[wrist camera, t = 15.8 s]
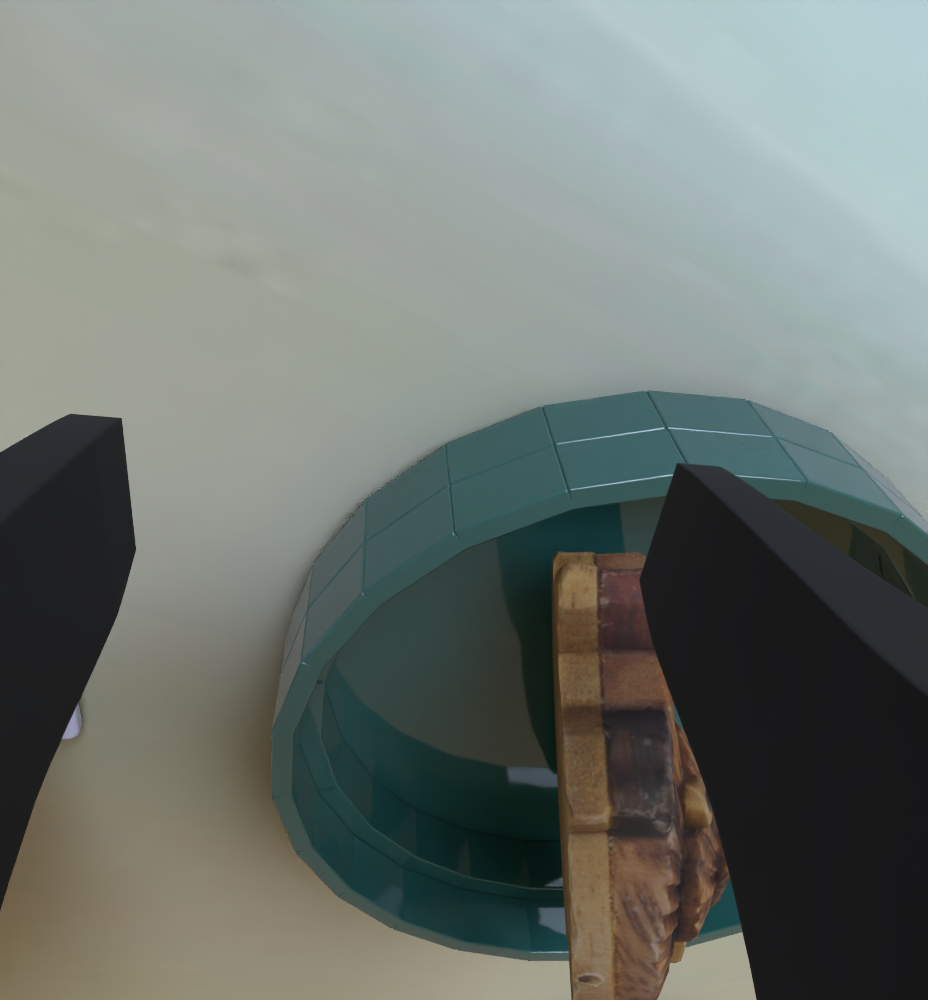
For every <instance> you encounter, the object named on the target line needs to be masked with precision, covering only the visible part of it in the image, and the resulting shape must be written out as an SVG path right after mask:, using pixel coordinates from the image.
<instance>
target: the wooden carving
mask: <svg viewBox="0 0 928 1000" xmlns="http://www.w3.org/2000/svg"><path fill="white" fill-rule="evenodd" d="M645 560H646V556H645V555H642V554H640V553H638V552H629V553H612V554H595V553H593V552H569V553H568V552H561V551H558V552H554V555H553V558H552V576H551V613H552V660H553V692H554V716H555V739H556V762H557V782H558V805H559V823H560V841H561V860H562V877H563V893H564V909H565V924H566V937H567V940H568V949H569V965H570V982H571V996H572V1000H657V998H658V996H659V994H660V992H661V990H662V987H663V984H664V982H665V979H666V977H667V974H668V972H669V965H670V962H671V963H676V962H679V961H681V959H682V956H683V953H684V949H685V946H686V943H687V942H691V941H694V939H696V938H697V936H698V934H699V932H700V930H701V928H702V926H703V924H704V920H705V917H706V915H707V913H708V911H709V908H711V907H713V906H714V905H715V904H716V903H717V902H718V901H719V900H720V898H721V896H722V894H723V892H724V890H725V888H726V886H727V884H728V881H729V879H730V875H729V871H728V867H727V863H726V859H725V855H724V852H723V848H722V844H721V840H720V836H719V832H718V828H717V824H716V820H715V816H714V813H713V810H712V807H711V804H710V801H709V798H708V794H707V791H706V788H705V785H704V782H703V779H702V777H701V774H700V771H699V769H698V766H697V763H696V761H695V758H694V755H693V753H692V750H691V747H690V745H689V742H688V739H687V737H686V734H685V733H684V731H683V729H682V728H681V727H680V726H679V725H678V724H677V723H676V722H675V720H674V711H673V699H672V697H671V694H670V691H669V689H668V686H667V683H666V680H665V678H664V675H663V672H662V669H661V667H660V664H659V661H658V658H657V655H656V653H655V650H654V647H653V644H652V640H651V636H650V631H649V627H648V623H647V618H646V614H645V608H644V603H643V598H642V593H641V587H640V582H639V579H640V576H641V573H642V570H643V567H644V563H645Z"/></svg>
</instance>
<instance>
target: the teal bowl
mask: <svg viewBox="0 0 928 1000" xmlns="http://www.w3.org/2000/svg"><path fill="white" fill-rule="evenodd" d="M677 463H684V464H697V465H709V466H720V467H722V468H724V469H726V470H727V471H729V472H731V473H732V474H734V475H736V476H737V477H739V478H740V479H742V480H743V481H745V482H746V483H748V484H749V485H751V486H752V487H754V488H755V489H756V490H758V491H759V492H761V493H762V494H763V495H765V496H766V497H768V498H769V499H770V500H772V501H773V502H775V503H776V504H777V505H779V506H780V507H781V508H783V509H784V510H785V511H787V512H788V513H790V514H791V515H792V516H794V517H795V518H796V519H798V520H799V521H800V522H802V523H803V524H805V525H806V526H807V527H809V528H810V529H811V530H813V531H814V532H816V533H817V534H818V535H820V536H821V537H822V538H824V539H825V540H827V541H828V542H829V543H831V544H832V545H834V546H835V547H836V548H838V549H839V550H841V551H842V552H843V553H845V554H846V555H848V556H849V557H851V558H852V559H854V560H855V561H856V562H858V563H859V564H861V565H862V566H864V567H865V568H867V569H868V570H869V571H871V572H873V573H874V574H876V575H877V576H879V577H880V578H882V579H883V580H885V581H886V582H888V583H889V584H891V585H892V586H894V587H896V588H897V589H899V590H900V591H902V592H903V593H905V594H906V595H908V596H909V597H911V598H912V599H914V600H916V601H917V602H919V603H920V604H922V605H924V606H925V607H927V608H928V522H927V521H926V520H925V519H924V518H923V516H922V515H921V514H920V513H919V512H918V511H917V510H916V509H915V508H914V507H913V505H912V504H911V503H910V502H909V501H908V500H907V499H906V498H905V497H904V496H903V494H902V493H901V492H900V491H899V490H898V489H897V488H896V487H895V486H894V485H893V483H892V482H891V481H890V480H889V479H888V478H887V477H885V476H884V475H883V474H882V473H881V472H879V471H878V470H877V469H876V468H874V467H873V466H872V465H871V464H870V463H868V462H867V461H866V460H865V459H863V458H862V457H861V456H860V455H859V454H857V453H856V452H855V451H854V450H852V449H851V448H850V447H849V446H848V445H846V444H845V443H844V442H843V441H841V440H840V439H839V438H838V437H837V436H835V435H834V434H833V433H831V432H829V431H828V430H825V429H823V428H820V427H817V426H815V425H812V424H810V423H807V422H804V421H802V420H799V419H796V418H794V417H791V416H788V415H786V414H783V413H781V412H778V411H775V410H773V409H770V408H767V407H765V406H762V405H759V404H757V403H754V402H752V401H749V400H745V399H735V398H725V397H714V396H703V395H692V394H681V393H670V392H660V391H647V392H646V391H640V392H633V393H626V394H619V395H613V396H606V397H599V398H592V399H586V400H579V401H572V402H565V403H559V404H552V405H545V406H543V408H542V407H537V408H535V409H532V410H530V411H527V412H525V413H522V414H520V415H517V416H515V417H512V418H510V419H507V420H504V421H502V422H499V423H497V424H494V425H492V426H489V427H487V428H484V429H482V430H479V431H476V432H474V433H471V434H469V435H466V436H464V437H461V438H459V439H456V440H454V441H451V442H449V443H447V444H446V445H443V446H442V447H440V448H439V449H437V450H436V451H434V452H433V453H432V454H430V455H429V456H427V457H426V458H424V459H423V460H422V461H420V462H419V463H417V464H416V465H415V466H413V467H412V468H410V469H409V470H407V471H406V472H405V473H403V474H402V475H400V476H399V477H397V478H396V479H395V480H393V481H392V482H390V483H389V484H387V485H386V486H385V487H383V488H382V489H380V490H379V491H378V492H376V493H375V494H373V495H372V496H370V497H369V498H368V499H367V500H365V502H364V503H363V504H362V505H361V506H360V508H359V509H358V510H357V511H356V512H355V514H354V515H353V516H352V517H351V518H350V520H349V521H348V522H347V523H346V525H345V526H344V527H343V528H342V529H341V531H340V532H339V533H338V534H337V535H336V537H335V538H334V539H333V540H332V541H331V543H330V544H329V545H328V546H327V548H326V549H325V550H324V551H323V552H322V554H321V555H320V556H319V557H318V558H317V560H316V561H315V562H314V565H313V566H312V568H311V571H310V573H309V576H308V578H307V581H306V584H305V586H304V589H303V591H302V594H301V596H300V599H299V601H298V604H297V606H296V609H295V611H294V614H293V616H292V619H291V621H290V624H289V626H288V629H287V634H286V641H285V647H284V653H283V660H282V666H281V673H280V680H279V686H278V693H277V699H276V705H275V712H274V718H273V725H272V731H271V795H272V799H273V802H274V804H275V806H276V809H277V811H278V813H279V816H280V818H281V820H282V823H283V825H284V827H285V830H286V832H287V834H288V837H289V839H290V842H291V844H292V846H293V849H294V851H296V854H297V855H298V856H299V857H300V858H301V859H302V860H303V861H304V862H305V863H306V864H307V865H308V866H309V867H310V868H311V869H312V871H313V872H314V873H315V874H316V875H317V876H318V877H319V878H320V879H321V880H322V881H323V882H324V883H325V884H326V885H327V886H328V887H329V888H330V890H331V891H332V892H333V893H334V894H335V895H337V896H338V897H339V898H341V899H342V900H344V901H346V902H347V903H349V904H351V905H352V906H354V907H356V908H358V909H359V910H361V911H363V912H364V913H366V914H368V915H369V916H371V917H373V918H374V919H376V920H378V921H380V922H381V923H383V924H385V925H386V926H388V927H390V928H393V929H394V930H397V931H400V932H403V933H406V934H409V935H412V936H415V937H418V938H421V939H424V940H427V941H430V942H433V943H436V944H439V945H442V946H445V947H448V948H451V949H454V950H456V949H457V950H459V951H466V952H472V953H479V954H486V955H493V956H500V957H506V958H513V959H520V960H528V961H569V949H568V940H567V937H566V924H565V909H564V893H563V877H562V860H561V841H560V823H559V805H558V782H557V762H556V739H555V716H554V692H553V660H552V613H551V576H552V558H553V555H554V552H558V551H561V552H568V553H569V552H593V553H595V554H612V553H629V552H638V553H640V554H642V555H645V556H646V557H647V554H648V551H649V548H650V545H651V542H652V539H653V536H654V533H655V529H656V526H657V523H658V520H659V517H660V514H661V511H662V508H663V505H664V502H665V498H666V495H667V492H668V489H669V486H670V483H671V480H672V477H673V474H674V471H675V467H676V464H677ZM673 711H674V720H675V722H676V723H677V724H678V725H679V726H680V727H681V728H682V729H683V726H682V723H681V721H680V718H679V715H678V713H677V710H676V707H675V705H674V702H673ZM683 731H684V729H683ZM684 733H685V731H684ZM740 932H742V927H741V923H740V918H739V914H738V909H737V905H736V900H735V896H734V892H733V887H732V883H731V879H729V881H728V884H727V886H726V888H725V890H724V892H723V894H722V896H721V898H720V900H719V901H718V902H717V903H716V904H715V905H714V906H713V907H711V908H709V911H708V913H707V915H706V917H705V920H704V924H703V926H702V928H701V930H700V932H699V934H698V936H697V938H696V939H694V941H691V942H687V943H686V946H685V947H689V946H693V945H696V944H700V943H704V942H707V941H711V940H715V939H718V938H722V937H726V936H729V935H733V934H737V933H740Z"/></svg>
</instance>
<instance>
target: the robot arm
mask: <svg viewBox="0 0 928 1000" xmlns="http://www.w3.org/2000/svg"><path fill="white" fill-rule="evenodd" d="M135 551H136V546H135V536H134V527H133V518H132V509H131V500H130V491H129V481H128V472H127V463H126V454H125V445H124V436H123V426H122V418H114V417H101V416H89V415H76V414H69V415H67V416H65V417H63V418H60V419H58V420H56V421H54V422H53V423H51V424H49V425H47V426H45V427H43V428H42V429H40V430H38V431H36V432H35V433H33V434H31V435H29V436H28V437H26V438H24V439H23V440H21V441H19V442H17V443H16V444H14V445H12V446H11V447H9V448H7V449H5V450H4V451H2V452H0V910H1V906H2V903H3V900H4V896H5V893H6V890H7V887H8V883H9V880H10V877H11V874H12V871H13V868H14V865H15V862H16V859H17V856H18V853H19V850H20V846H21V843H22V840H23V837H24V834H25V831H26V828H27V825H28V822H29V819H30V816H31V813H32V810H33V807H34V804H35V801H36V798H37V796H38V793H39V791H40V788H41V786H42V783H43V781H44V778H45V776H46V773H47V771H48V768H49V766H50V763H51V761H52V759H53V757H54V755H55V752H56V750H57V748H58V746H59V744H60V742H61V739H63V740H65V739H72V738H74V737H76V736H77V735H78V734H79V732H80V729H81V727H82V718H81V713H80V707H79V700H80V698H81V695H82V693H83V691H84V689H85V687H86V684H87V682H88V680H89V678H90V676H91V674H92V671H93V669H94V667H95V665H96V662H97V660H98V658H99V656H100V653H101V651H102V649H103V647H104V644H105V642H106V640H107V638H108V636H109V633H110V631H111V629H112V626H113V624H114V622H115V619H116V617H117V614H118V611H119V608H120V604H121V601H122V598H123V594H124V591H125V588H126V584H127V581H128V577H129V573H130V570H131V566H132V562H133V559H134V555H135ZM639 582H640V587H641V593H642V598H643V603H644V608H645V614H646V618H647V623H648V627H649V631H650V636H651V640H652V644H653V647H654V650H655V653H656V655H657V658H658V661H659V664H660V667H661V669H662V672H663V675H664V678H665V680H666V683H667V686H668V689H669V691H670V694H671V697H672V699H673V702H674V705H675V707H676V710H677V713H678V715H679V718H680V721H681V723H682V726H683V729H684V731H685V734H686V737H687V739H688V742H689V745H690V747H691V750H692V753H693V755H694V758H695V761H696V763H697V766H698V769H699V771H700V774H701V777H702V779H703V782H704V785H705V788H706V791H707V794H708V798H709V801H710V804H711V807H712V810H713V813H714V816H715V820H716V824H717V828H718V832H719V836H720V840H721V844H722V848H723V852H724V855H725V859H726V863H727V867H728V871H729V875H730V879H731V883H732V887H733V892H734V896H735V900H736V905H737V909H738V914H739V918H740V923H741V927H742V932H743V936H744V940H745V945H746V949H747V954H748V958H749V963H750V968H751V973H752V978H753V983H754V988H755V994H756V999H757V1000H928V608H927V607H925V606H924V605H922V604H920V603H919V602H917V601H916V600H914V599H912V598H911V597H909V596H908V595H906V594H905V593H903V592H902V591H900V590H899V589H897V588H896V587H894V586H892V585H891V584H889V583H888V582H886V581H885V580H883V579H882V578H880V577H879V576H877V575H876V574H874V573H873V572H871V571H869V570H868V569H867V568H865V567H864V566H862V565H861V564H859V563H858V562H856V561H855V560H854V559H852V558H851V557H849V556H848V555H846V554H845V553H843V552H842V551H841V550H839V549H838V548H836V547H835V546H834V545H832V544H831V543H829V542H828V541H827V540H825V539H824V538H822V537H821V536H820V535H818V534H817V533H816V532H814V531H813V530H811V529H810V528H809V527H807V526H806V525H805V524H803V523H802V522H800V521H799V520H798V519H796V518H795V517H794V516H792V515H791V514H790V513H788V512H787V511H785V510H784V509H783V508H781V507H780V506H779V505H777V504H776V503H775V502H773V501H772V500H770V499H769V498H768V497H766V496H765V495H763V494H762V493H761V492H759V491H758V490H756V489H755V488H754V487H752V486H751V485H749V484H748V483H746V482H745V481H743V480H742V479H740V478H739V477H737V476H736V475H734V474H732V473H731V472H729V471H727V470H726V469H724V468H722V467H720V466H709V465H697V464H684V463H677V464H676V467H675V471H674V474H673V477H672V480H671V483H670V486H669V489H668V492H667V495H666V498H665V502H664V505H663V508H662V511H661V514H660V517H659V520H658V523H657V526H656V529H655V533H654V536H653V539H652V542H651V545H650V548H649V551H648V554H647V557H646V560H645V563H644V567H643V570H642V573H641V576H640V579H639Z"/></svg>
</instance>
